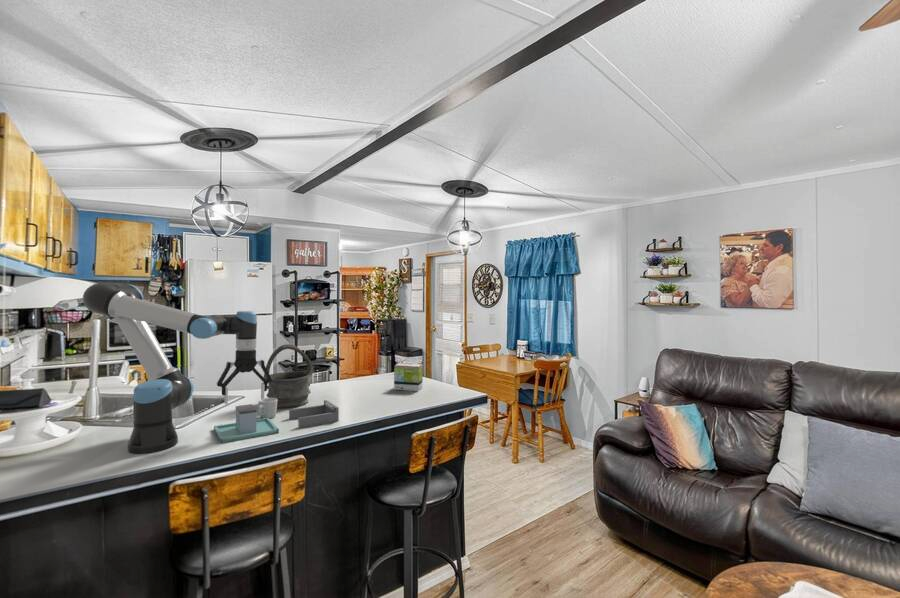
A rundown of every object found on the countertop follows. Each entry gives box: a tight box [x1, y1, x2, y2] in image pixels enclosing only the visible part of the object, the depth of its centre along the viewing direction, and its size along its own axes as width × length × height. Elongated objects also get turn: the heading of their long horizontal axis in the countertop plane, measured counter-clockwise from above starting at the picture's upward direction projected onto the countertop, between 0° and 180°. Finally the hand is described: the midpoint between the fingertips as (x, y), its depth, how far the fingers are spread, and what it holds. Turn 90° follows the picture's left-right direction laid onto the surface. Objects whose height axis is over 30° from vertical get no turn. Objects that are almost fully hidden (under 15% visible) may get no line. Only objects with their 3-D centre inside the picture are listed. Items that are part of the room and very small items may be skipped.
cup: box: [256, 397, 278, 419], centre depth 191 cm, size 11×8×8 cm
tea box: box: [393, 362, 424, 392], centre depth 250 cm, size 15×10×15 cm, turn 80°
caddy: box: [235, 403, 258, 435], centre depth 173 cm, size 6×10×9 cm, turn 35°
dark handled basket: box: [263, 343, 315, 409], centre depth 216 cm, size 22×23×30 cm
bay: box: [288, 399, 340, 429], centre depth 189 cm, size 17×16×6 cm
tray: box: [213, 418, 280, 444], centre depth 173 cm, size 21×19×2 cm
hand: (244, 401), depth 173 cm, fingers open, 13 cm apart
